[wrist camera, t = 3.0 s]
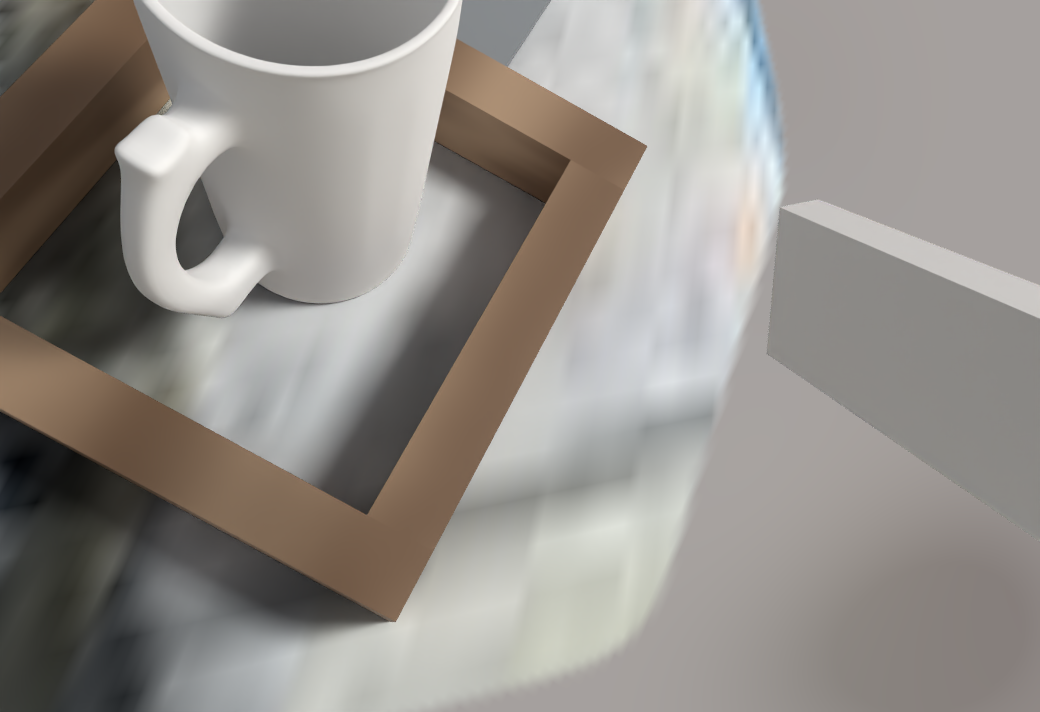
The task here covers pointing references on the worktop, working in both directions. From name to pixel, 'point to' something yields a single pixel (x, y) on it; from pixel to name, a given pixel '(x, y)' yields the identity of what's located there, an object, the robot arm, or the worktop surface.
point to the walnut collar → (207, 455)
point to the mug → (284, 144)
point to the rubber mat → (498, 25)
